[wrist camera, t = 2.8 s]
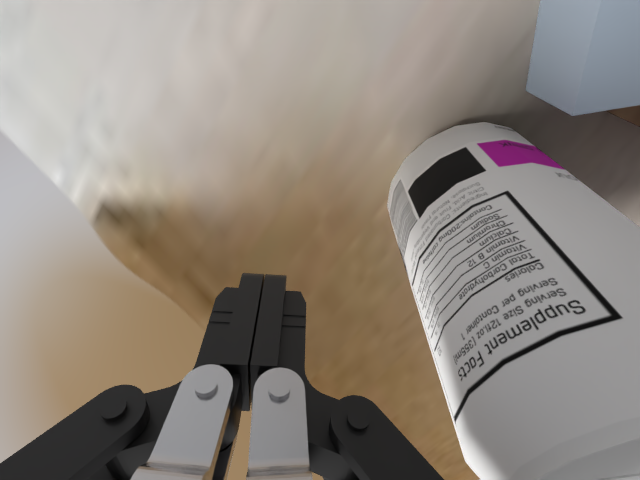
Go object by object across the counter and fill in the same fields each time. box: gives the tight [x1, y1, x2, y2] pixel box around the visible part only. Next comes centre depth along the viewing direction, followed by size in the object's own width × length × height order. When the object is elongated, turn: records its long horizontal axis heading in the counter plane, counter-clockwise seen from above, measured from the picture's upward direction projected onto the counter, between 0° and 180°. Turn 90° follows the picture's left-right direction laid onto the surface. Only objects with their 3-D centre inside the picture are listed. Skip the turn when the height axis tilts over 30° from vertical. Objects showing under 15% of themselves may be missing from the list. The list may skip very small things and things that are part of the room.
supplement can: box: [387, 122, 640, 480], centre depth 14 cm, size 8×8×15 cm
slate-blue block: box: [526, 0, 640, 116], centre depth 14 cm, size 4×4×4 cm
